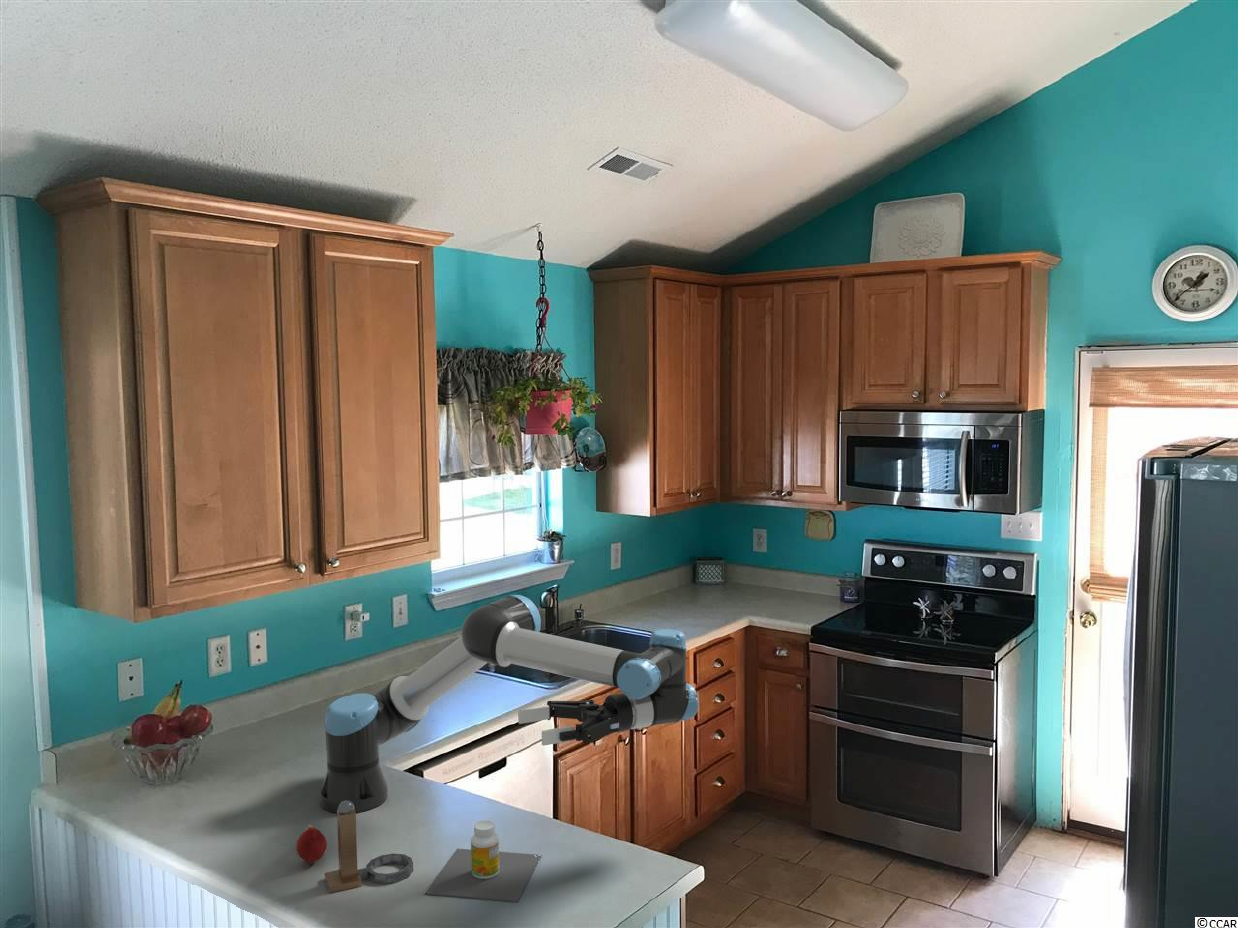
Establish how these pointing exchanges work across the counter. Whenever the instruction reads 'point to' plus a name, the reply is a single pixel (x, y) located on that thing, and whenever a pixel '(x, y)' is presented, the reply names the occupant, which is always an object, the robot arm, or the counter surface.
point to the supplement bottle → (485, 850)
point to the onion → (311, 845)
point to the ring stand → (348, 857)
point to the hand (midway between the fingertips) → (530, 727)
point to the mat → (500, 887)
